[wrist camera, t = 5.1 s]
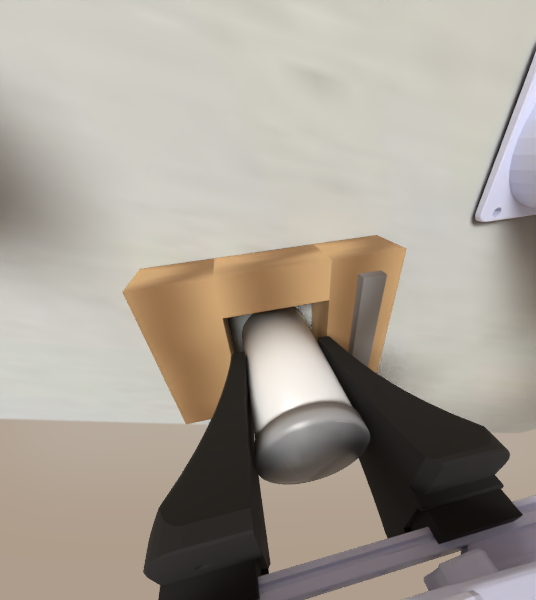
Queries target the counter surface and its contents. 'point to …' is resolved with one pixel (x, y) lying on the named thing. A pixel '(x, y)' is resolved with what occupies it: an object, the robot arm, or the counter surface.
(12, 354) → the counter surface
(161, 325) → the jig
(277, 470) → the salt shaker
